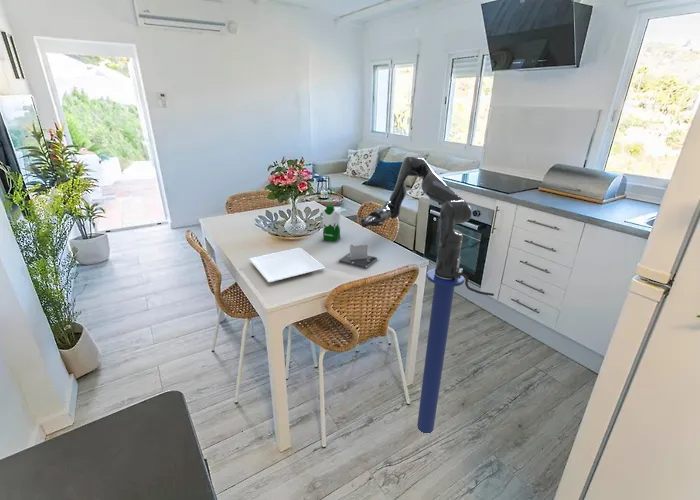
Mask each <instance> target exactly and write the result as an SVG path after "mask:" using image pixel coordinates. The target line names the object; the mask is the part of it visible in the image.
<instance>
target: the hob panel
mask: <svg viewBox="0 0 700 500" xmlns="http://www.w3.org/2000/svg"><path fill="white" fill-rule="evenodd" d="M377 261H378V257H376V256H372V255H369V254H367V259H357V260H350V252H349V253H347V254H346V255H344V256H343V257H341V258H340V259H338V262H339V263H341V264H345V265H348V266H352V267H356V268H362V269H366V270H367V268H370V266H372V265H373V264H375V262H377Z"/></svg>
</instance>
